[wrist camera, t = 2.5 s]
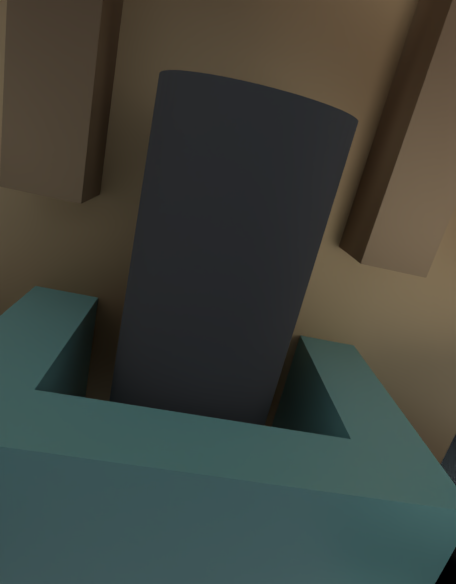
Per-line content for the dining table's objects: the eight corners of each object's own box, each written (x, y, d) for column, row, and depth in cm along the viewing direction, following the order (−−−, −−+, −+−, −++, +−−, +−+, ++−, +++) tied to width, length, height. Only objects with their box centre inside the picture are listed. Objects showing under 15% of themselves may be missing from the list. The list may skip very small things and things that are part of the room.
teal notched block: (301, 487, 10) (363, 711, 6) (23, 449, 9) (-113, 678, 5) (353, 345, 9) (474, 512, 5) (35, 285, 8) (-133, 427, 4)
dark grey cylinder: (193, 590, 11) (190, 728, 8) (89, 579, 11) (51, 720, 8) (325, 127, 7) (394, 120, 5) (168, 87, 7) (146, 53, 4)
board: (309, 673, 14) (327, 762, 12) (-87, 641, 13) (-144, 738, 11) (671, -101, 7) (860, -199, 5) (-134, -398, 6) (-337, -721, 3)
